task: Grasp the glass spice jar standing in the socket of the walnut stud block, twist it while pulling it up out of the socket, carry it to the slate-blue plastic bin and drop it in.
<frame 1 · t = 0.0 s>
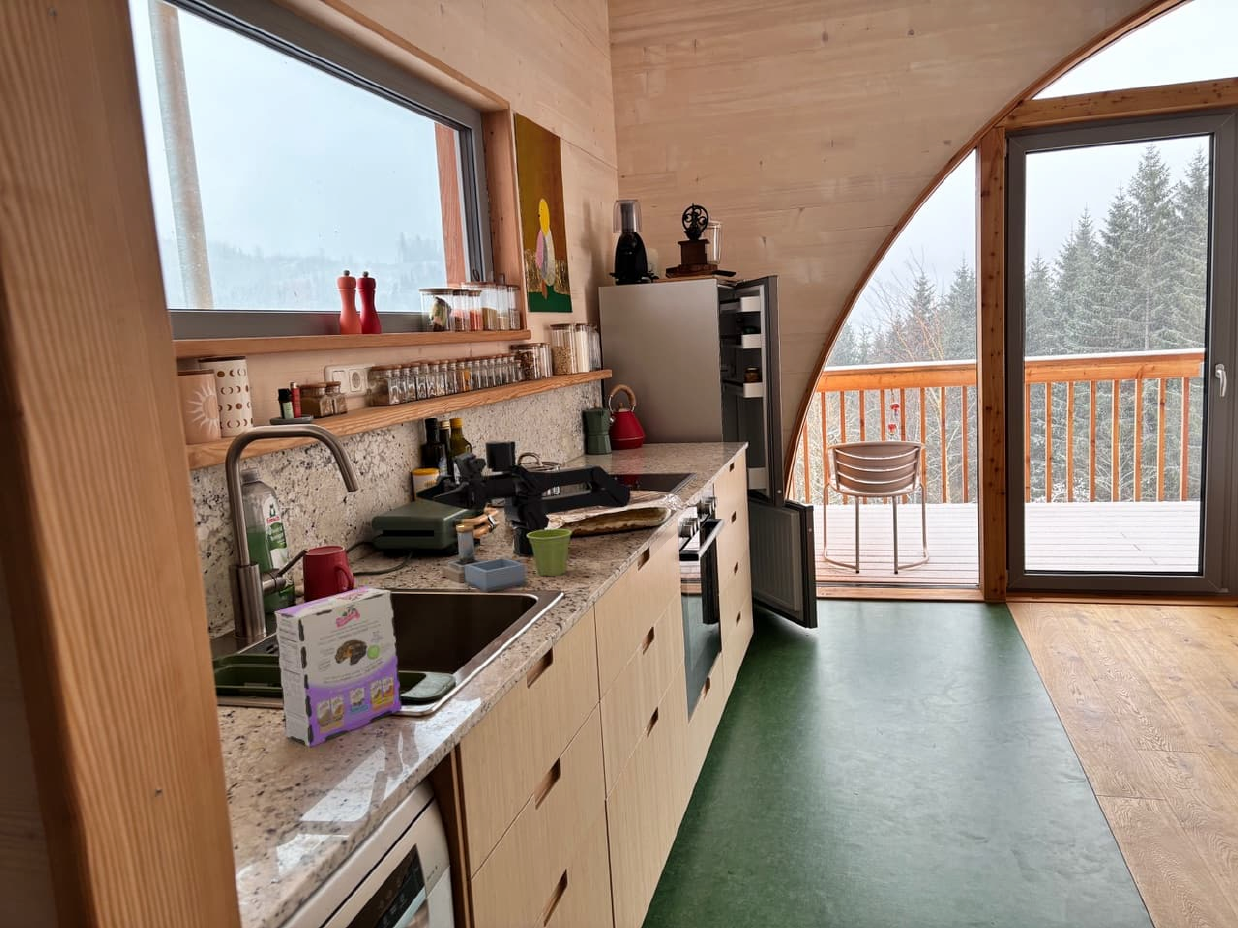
hand: (424, 497, 198), 17 cm above the worktop, tool horizontal, fingers open, 9 cm apart
plant pot: (551, 574, 194), on the worktop
stud block: (468, 575, 195), on the worktop
bin: (496, 583, 187), on the worktop
candy box: (345, 725, 118), on the worktop
glass spice jar: (467, 566, 195), point 2 cm above the worktop, touching stud block
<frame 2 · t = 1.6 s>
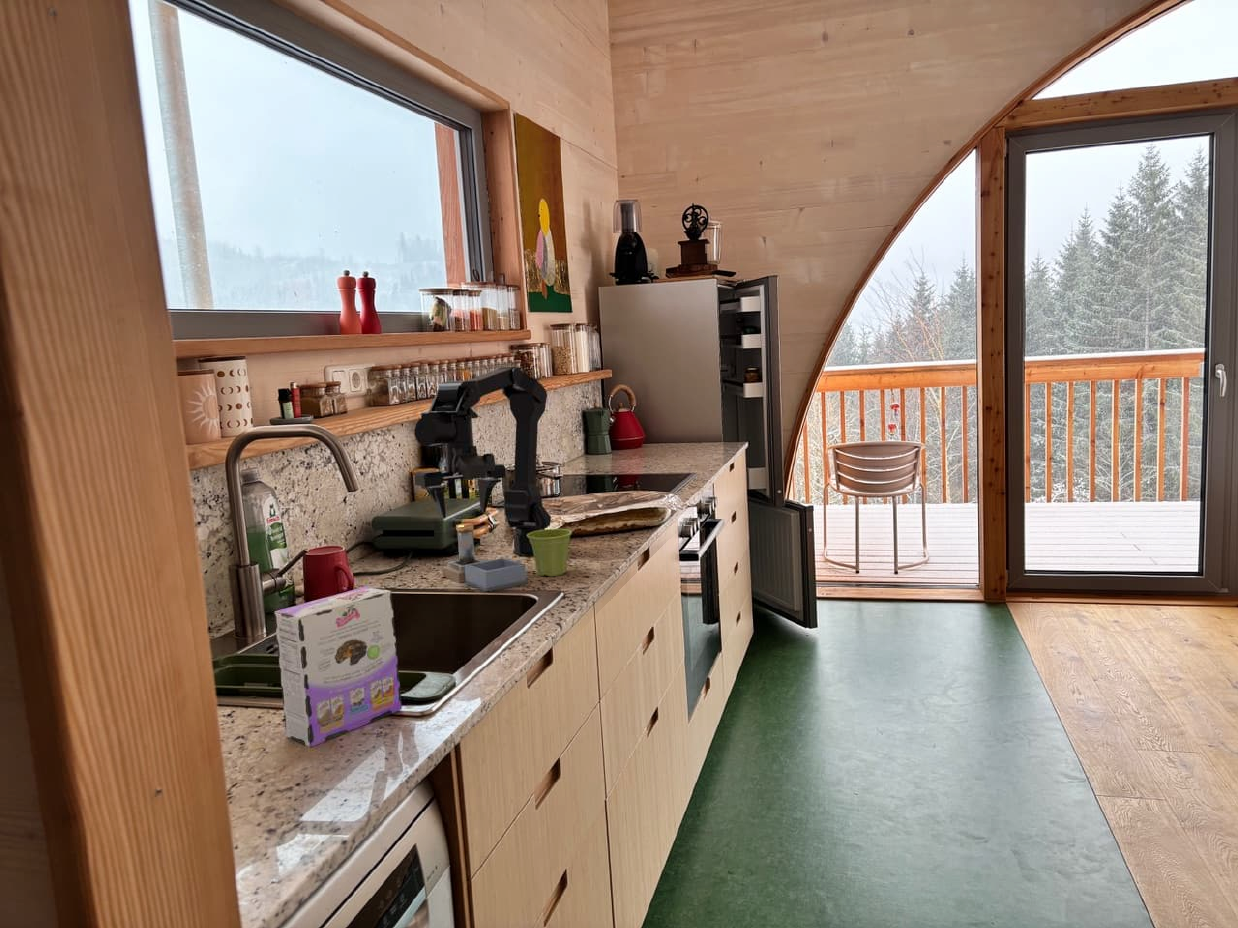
hand: (463, 515, 194), 13 cm above the worktop, tool pointing down, fingers open, 9 cm apart
nothing on the worktop moved.
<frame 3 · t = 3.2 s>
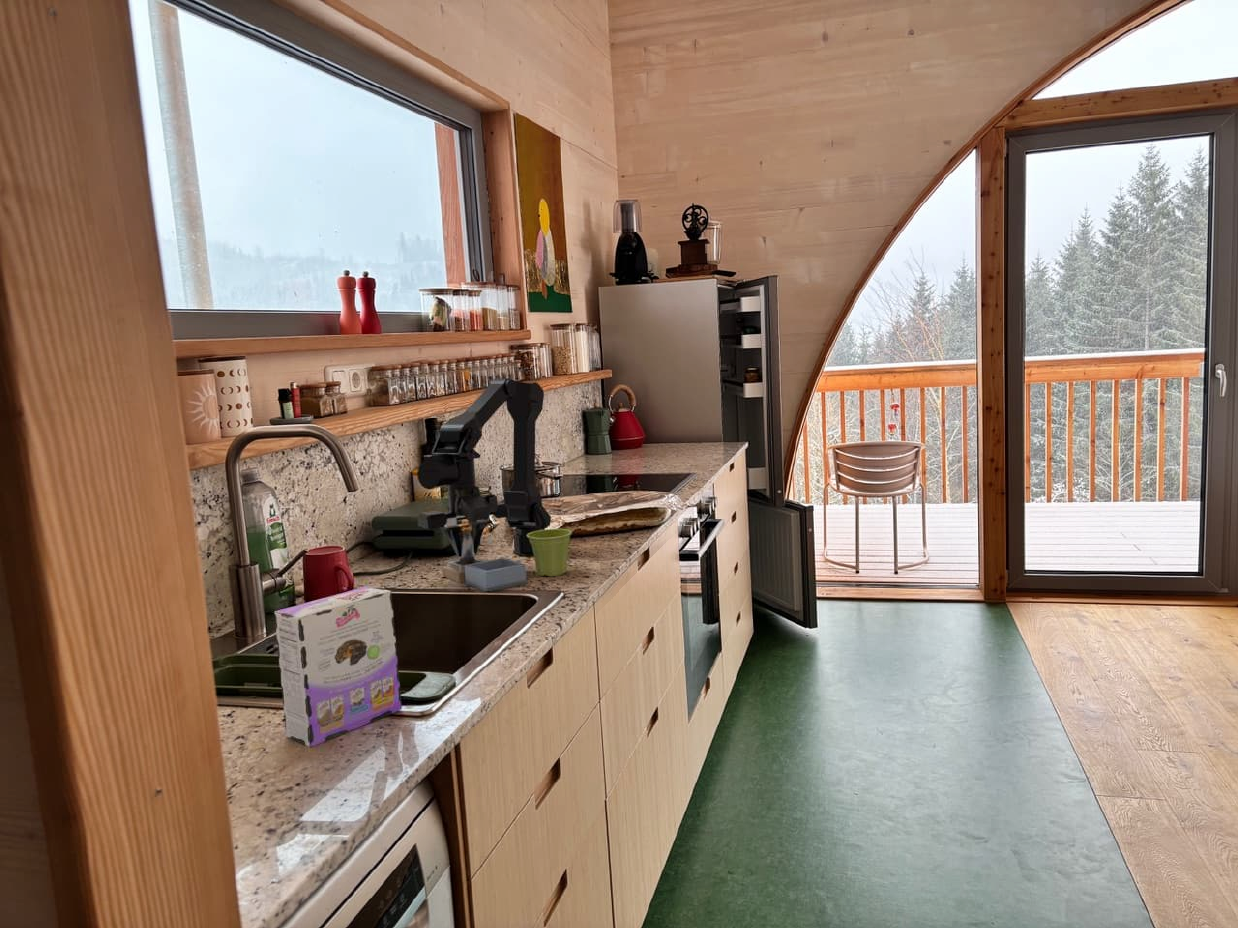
hand: (466, 555, 195), 5 cm above the worktop, tool pointing down, fingers closed on glass spice jar, 3 cm apart
glass spice jar: (467, 566, 195), point 2 cm above the worktop, touching gripper, stud block
everything else where it was.
when the fingers open (5 cm above the worktop, at t = 7.0 s): glass spice jar drops 2 cm, resting on bin.
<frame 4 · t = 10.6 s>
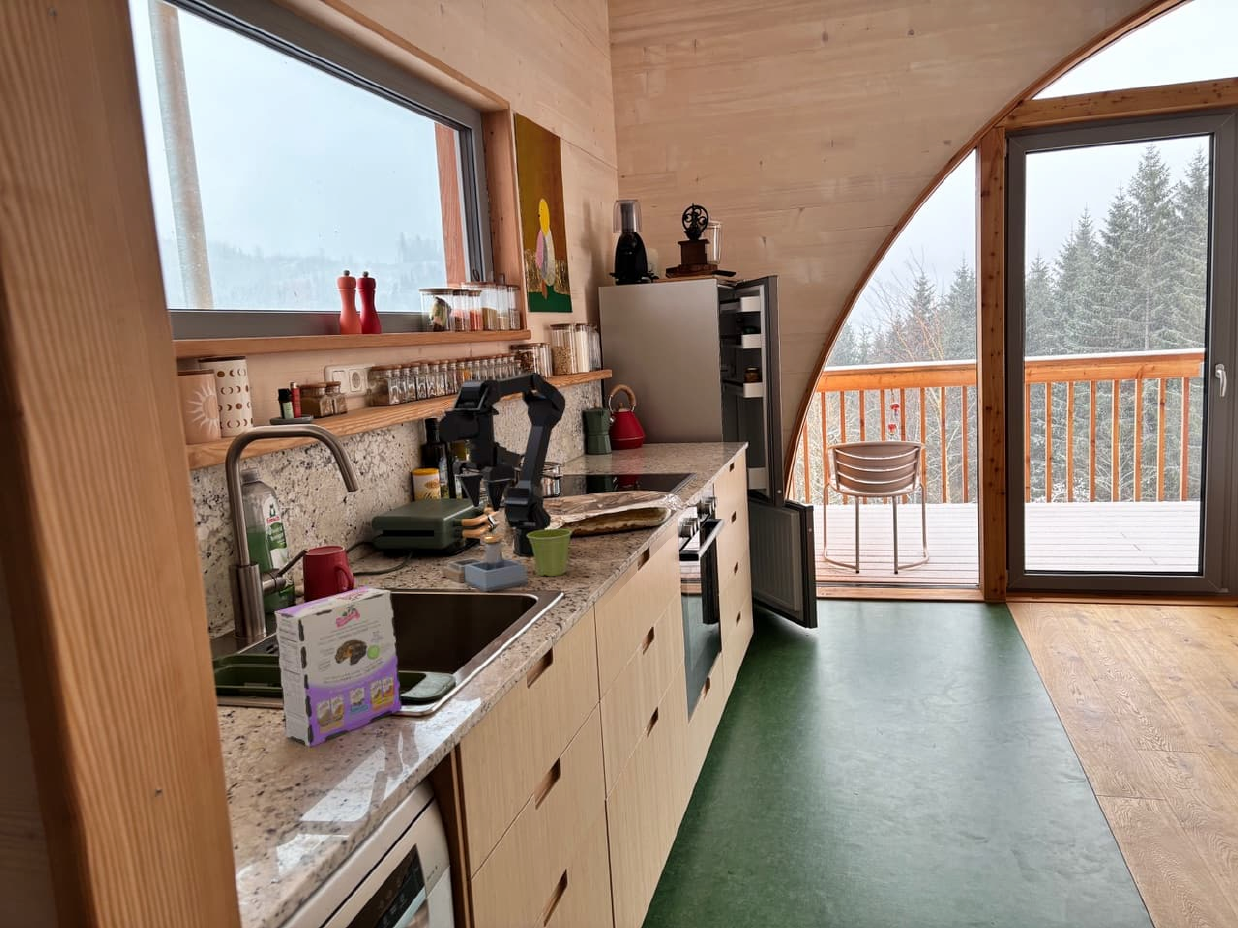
hand: (486, 509, 201), 13 cm above the worktop, tool pointing down, fingers open, 9 cm apart
glass spice jar: (495, 579, 187), point 1 cm above the worktop, touching bin
everything else where it was.
at the end: glass spice jar inside the target area on the bin (0.0 cm from its centre), point 0.8 cm above the bin's base; the gripper is holding nothing; glass spice jar touching bin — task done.
